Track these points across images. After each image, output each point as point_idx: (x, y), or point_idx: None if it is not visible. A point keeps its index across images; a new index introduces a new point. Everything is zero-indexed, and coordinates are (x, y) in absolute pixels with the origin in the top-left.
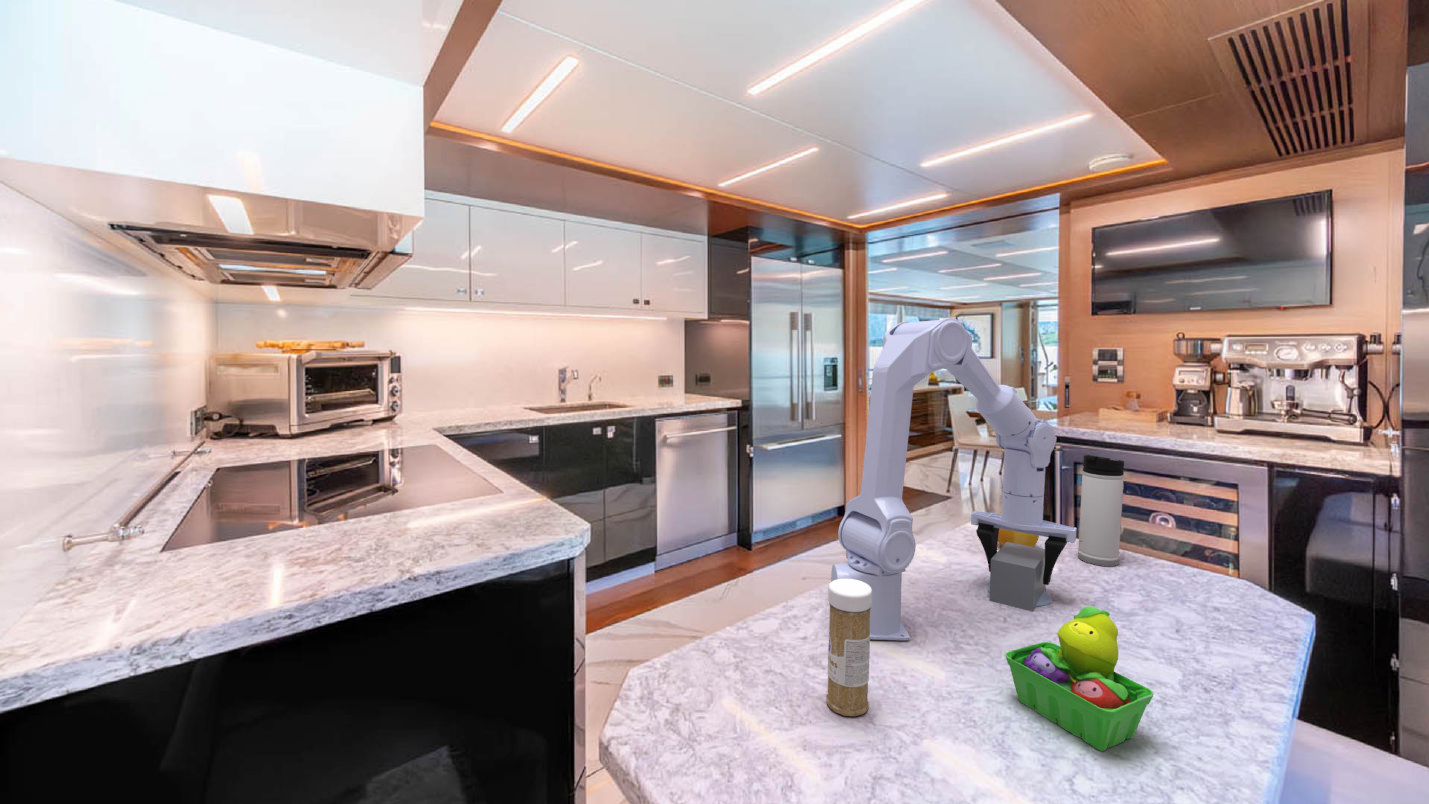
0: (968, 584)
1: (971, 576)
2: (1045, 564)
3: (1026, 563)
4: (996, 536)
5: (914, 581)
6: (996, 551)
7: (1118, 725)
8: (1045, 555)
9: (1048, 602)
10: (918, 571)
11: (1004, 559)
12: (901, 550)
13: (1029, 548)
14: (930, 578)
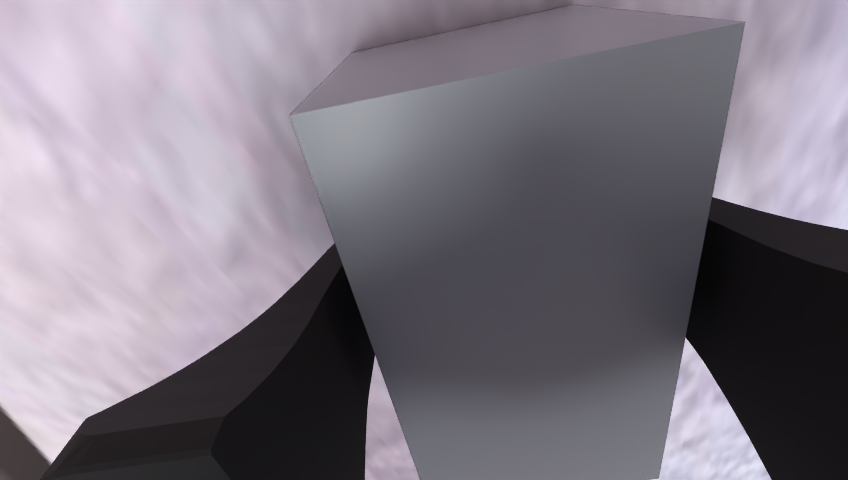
0: (284, 257)
1: (220, 156)
2: (707, 361)
3: (606, 453)
4: (309, 424)
5: (158, 371)
6: (334, 300)
7: None
8: (751, 432)
9: None
10: (64, 287)
11: (485, 473)
12: None
13: (557, 149)
14: (157, 313)
